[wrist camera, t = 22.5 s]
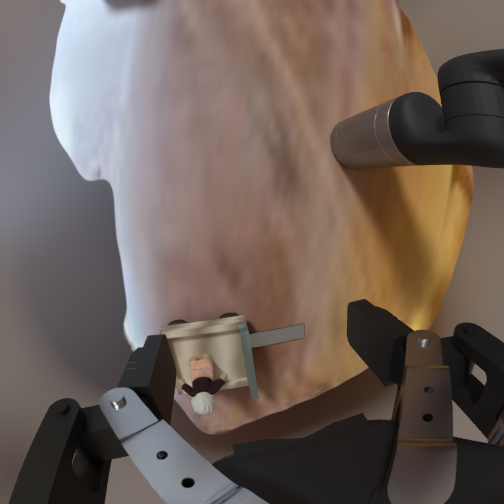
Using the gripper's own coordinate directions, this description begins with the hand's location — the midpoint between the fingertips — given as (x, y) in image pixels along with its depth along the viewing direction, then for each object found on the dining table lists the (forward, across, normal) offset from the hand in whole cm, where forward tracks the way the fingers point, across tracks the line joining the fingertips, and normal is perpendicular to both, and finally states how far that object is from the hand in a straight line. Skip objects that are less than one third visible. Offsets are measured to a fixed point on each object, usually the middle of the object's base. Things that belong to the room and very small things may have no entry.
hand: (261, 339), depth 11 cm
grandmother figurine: (+30, +7, +21) cm, 38 cm away
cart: (+34, +6, +21) cm, 40 cm away
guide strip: (+34, +1, +21) cm, 40 cm away
